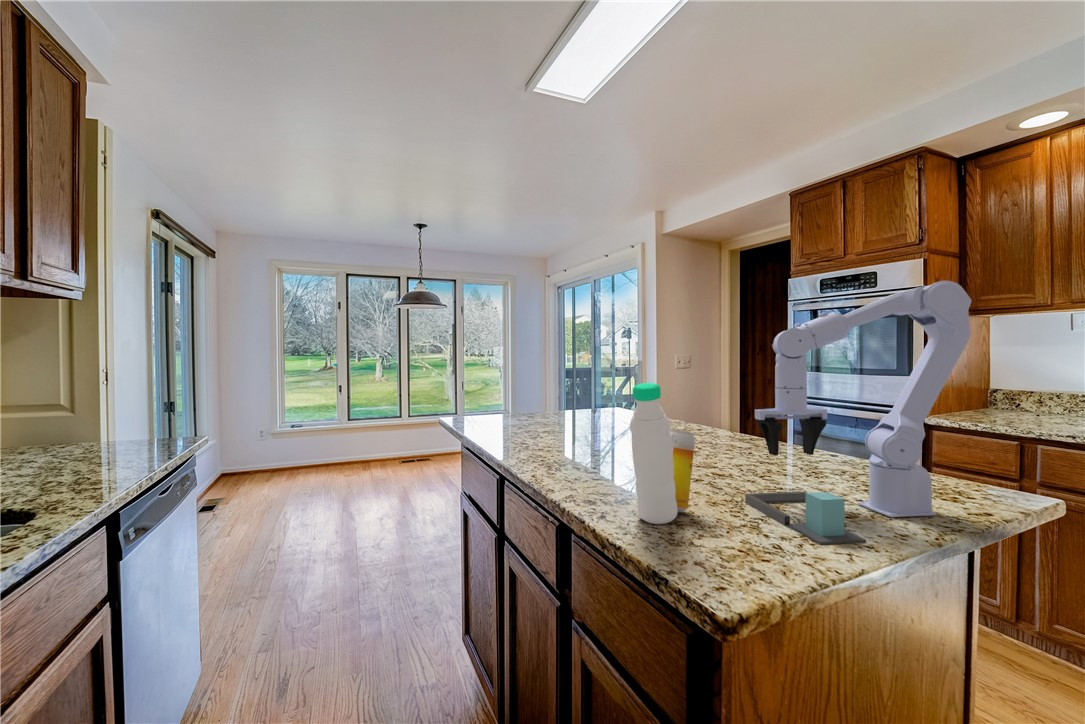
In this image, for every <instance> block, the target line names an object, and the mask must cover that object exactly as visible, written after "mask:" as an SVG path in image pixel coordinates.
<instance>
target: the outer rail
mask: <svg viewBox="0 0 1085 724" xmlns="http://www.w3.org/2000/svg"><path fill="white" fill-rule="evenodd" d="M806 493H809V492H808V491H784V492H783V491H782V492H781V491H779V492H757V493H755V492H754V493H752V492H751V493H750V492H749V493H746V494H745V495H744V496H745V499H744V502H745V504H746V505H748V506H750V507H752V508H754V509H755V510H757V511H758V512H760V513H762V514H764V515H765V516H767V517H768V518H770V519H773V520H774V521H776V522H777V523H779V524H781V525H783V526H784V527H788V524H791V516H790V515H789V514H787V513H785V512H784V511H782V510H779V509H778V508H776V507H774V506H773V505H771V504H770V503H773V504H774V503H790V502H791V503H794V502H795V503H797V502H806Z"/></svg>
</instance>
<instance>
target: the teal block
mask: <svg viewBox="0 0 1085 724" xmlns="http://www.w3.org/2000/svg"><path fill="white" fill-rule="evenodd" d="M845 505H846V504H845V498H843V497H841V496H839V495H836V494H833V493H831V492H829V491H819V492H808V493H806V501H805V523H806V528H808V529H810V530H811V531H813V532H815V533H817V534H819V535H820V536H838V535H845V530H846V527H845V524H846V523H845V518H846V517H845Z"/></svg>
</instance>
